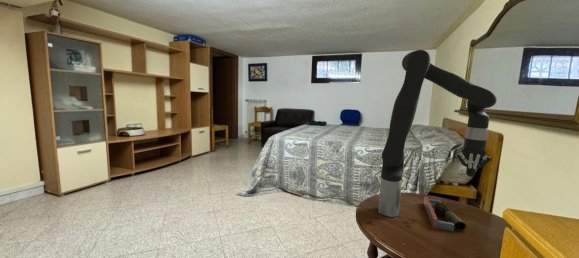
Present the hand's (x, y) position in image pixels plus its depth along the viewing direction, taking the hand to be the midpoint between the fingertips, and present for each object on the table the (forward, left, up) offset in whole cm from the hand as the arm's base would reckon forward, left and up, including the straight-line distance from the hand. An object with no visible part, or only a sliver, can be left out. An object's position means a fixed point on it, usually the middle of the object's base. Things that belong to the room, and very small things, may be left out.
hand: (469, 176), depth 104 cm
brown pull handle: (-10, 0, -21) cm, 23 cm away
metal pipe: (-7, -2, -22) cm, 23 cm away
